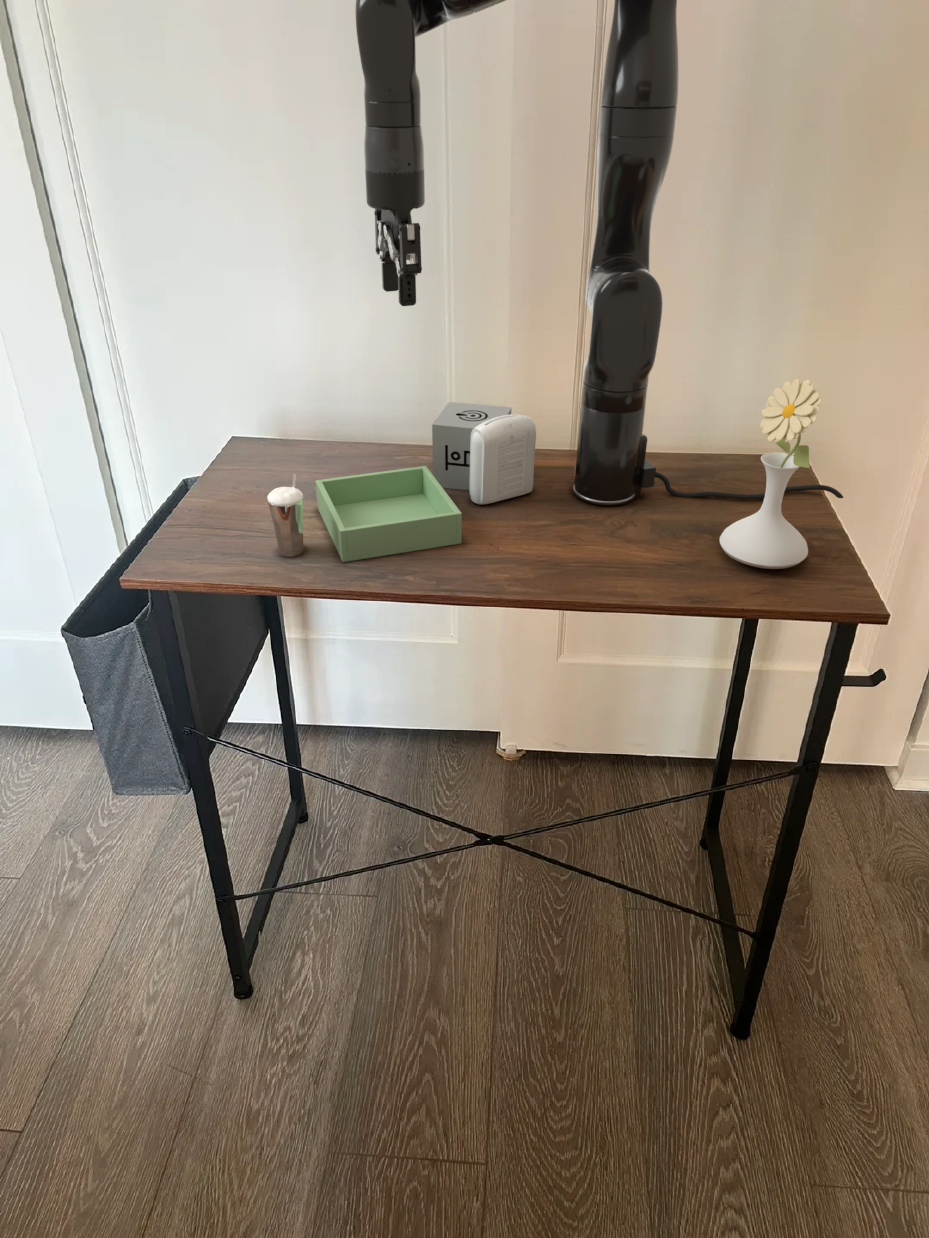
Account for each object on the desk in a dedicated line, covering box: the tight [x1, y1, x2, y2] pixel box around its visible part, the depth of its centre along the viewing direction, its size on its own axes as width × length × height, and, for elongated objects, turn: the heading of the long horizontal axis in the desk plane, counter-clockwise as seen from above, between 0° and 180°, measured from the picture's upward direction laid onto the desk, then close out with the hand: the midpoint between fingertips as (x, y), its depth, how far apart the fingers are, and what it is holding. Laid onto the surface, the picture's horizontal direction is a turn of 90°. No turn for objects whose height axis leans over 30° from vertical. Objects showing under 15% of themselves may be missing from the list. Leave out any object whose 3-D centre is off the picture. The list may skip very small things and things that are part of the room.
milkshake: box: [266, 473, 304, 558], centre depth 118 cm, size 4×5×10 cm
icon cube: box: [431, 401, 512, 491], centre depth 138 cm, size 10×10×10 cm
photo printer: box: [469, 413, 537, 506], centre depth 132 cm, size 10×4×12 cm, turn 123°
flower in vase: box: [719, 378, 822, 570], centre depth 113 cm, size 13×11×25 cm
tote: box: [315, 465, 463, 563], centre depth 126 cm, size 17×17×5 cm
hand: (399, 297), depth 123 cm, fingers open, 8 cm apart
